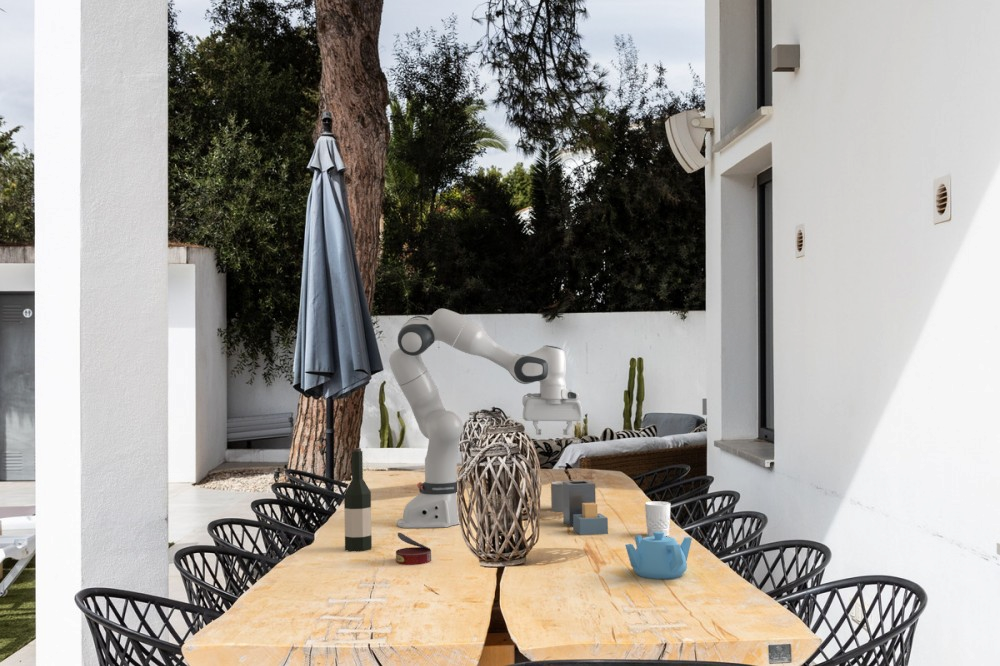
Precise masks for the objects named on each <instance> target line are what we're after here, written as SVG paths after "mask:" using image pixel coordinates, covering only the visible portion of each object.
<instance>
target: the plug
mask: <svg viewBox="0 0 1000 666" xmlns="http://www.w3.org/2000/svg"><path fill="white" fill-rule="evenodd" d="M582 517H583V518H595V517H598V504H597V503H582Z"/></svg>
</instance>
